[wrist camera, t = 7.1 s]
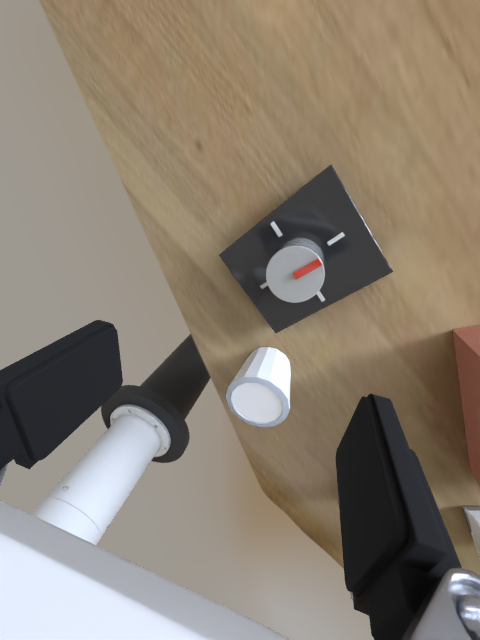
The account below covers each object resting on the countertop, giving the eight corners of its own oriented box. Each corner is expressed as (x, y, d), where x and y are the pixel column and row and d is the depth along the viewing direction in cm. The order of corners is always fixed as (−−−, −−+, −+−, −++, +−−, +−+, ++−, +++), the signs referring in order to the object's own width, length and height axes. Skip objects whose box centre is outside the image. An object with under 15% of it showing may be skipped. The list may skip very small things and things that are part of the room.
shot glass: (297, 345, 30) (291, 383, 24) (293, 390, 33) (287, 434, 27) (242, 339, 32) (223, 372, 25) (243, 382, 34) (227, 421, 28)
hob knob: (290, 294, 24) (283, 313, 20) (265, 255, 23) (254, 267, 19) (333, 271, 22) (336, 287, 18) (308, 227, 21) (305, 234, 17)
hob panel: (279, 321, 29) (275, 334, 26) (228, 249, 27) (218, 255, 24) (385, 263, 23) (393, 272, 21) (330, 168, 21) (331, 163, 19)
